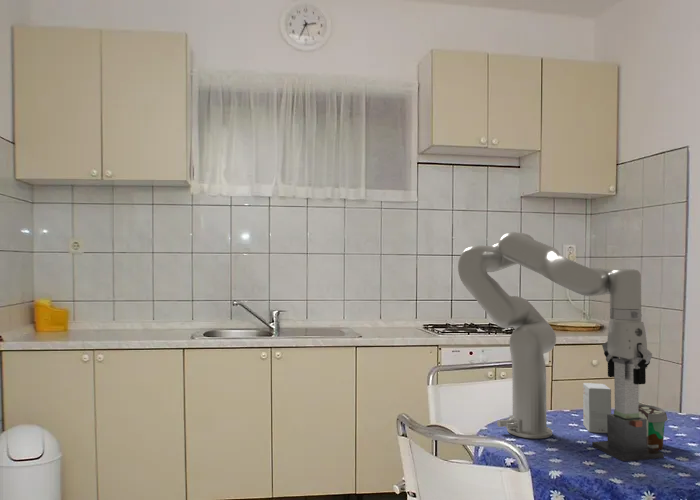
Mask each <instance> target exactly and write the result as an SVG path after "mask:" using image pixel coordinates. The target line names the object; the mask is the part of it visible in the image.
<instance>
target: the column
mask: <svg viewBox="0 0 700 500" xmlns="http://www.w3.org/2000/svg"><path fill="white" fill-rule="evenodd" d="M613 362H614V377H613V378H614V410H613V414H614V415H615V416H616V417H619V418H621V419H624V420H632V419H639V413H638V404H639V384H637V385H636V384H634V383H633V369H634V368H635V366H634V364H633V362H632V361H631V360H627V359H622V358H613ZM638 363H639V361H638Z"/></svg>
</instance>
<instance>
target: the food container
mask: <svg viewBox="0 0 700 500" xmlns="http://www.w3.org/2000/svg"><path fill="white" fill-rule="evenodd" d="M638 413H639V417H641V418H644V419H646V421H647V446H648V447H650V448H653V449H655V450H657V451H662V450H663V449H664V438H665V424H666V422H667V421H668V420H669V419H668V413H666V410H665V409H663V408H661V407H659V406H655V405H650V404H644V403H643V404H642V403H638Z"/></svg>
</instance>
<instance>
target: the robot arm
mask: <svg viewBox="0 0 700 500" xmlns="http://www.w3.org/2000/svg"><path fill="white" fill-rule="evenodd" d="M516 265H520V266H521V267H523V268H526V269H529V270H530V271H533V272H535V273H538V274H539V275H542V276H543V277H544V278H545V279H547V280H550V281H552V282H553V283H555V284H556V285H558V286H560V287H562V288H564V289H567V290H569V291H572V292H575V293H576V294H578V295H582V296H585V297H594V296H601V295H602V296H605V295H609V322H608V328H607V341H606V342H604V343H603V344H602V345H601V346H602V350H603V354H604V356H605V362H607V377H609V378H614V362H613V358H622V359H627V360H631V361H632V362H633V364H634V366H635V368H634V369H633V383H634V384H636V385H637V384H638V385H645V384H646V383H647V382H646V374H647V373H646V369H648V366H649V365H650V364H651V359H652V357H653V353H652V352H651V351H650V350H649V349H648V342H647V341H648V340H647V333H646V328H645V325H644V322H643V321H642V316H643V314H642V275H641V272H640V271H639V270H638V269H635V268H633V269H632V268H631V269H630V268H629V269H628V268H620V269H619V268H615V269H609V268H608V269H607V268H601V267H600V268H599V267H588V266H585V265H583V264H580V263H578V262H576V261H574V260H571V259H569V258H566V257H565V256H564V255H562V254H561V253H560V252H559V250H557V248H555V247H554V246H551V245H548V244H546V243H543V242H540V241H538V240H535V239H534V237H533V236H531V235H530V234H528V233H524V232H516V231H511V232H506V233H504V234H503V235H502V236H501V237H500V239H499V240H498V242H497V243H495V244H493V245H471V246H468V247H467V248H465V249H464V250H462V252H461V254H460V256H459V259H458V263H457V271H458V275H459V278H460V281H461V282H462V284H463V286H464V287H465V288H466V290H468V292H469V293H470V295H472V296H473V298H474V299H475V300H476V301H477V303H478V304H479V306H480V307H481V308H482V309H483V311H484V312H485V313H486V314H487V316H488V317H489V318H490V319H491V320H492V321H493V322H494V323H493V324H495V325H496V326H498V327H499V328H501V329H511V328H513V329H514V330H513V331H512V333H511V335H510V338H509V351H510V352H509V353H510V357H511V370H512V372H511V376H512V377H511V379H512V380H511V381H512V383H511V384H512V387H511V388H512V389H511V390H512V414H511V415H508V416H509V417H508V418H507V419H498V420H497V421H496V425H497V427H498V428H503V427H504V428H506V429H507V430H506V431H507V433H509V434H510V435H513V436H516V437H519V438H523V439H524V438H525V439H532V440H533V439H534V440H535V439H539V440H540V439H548V438H551V436H552V435H553V430H552V428H551V427H548V426H547V370H546V369H547V368H546V367H547V366H546V362H545V361H546V360H545V357H544V356H545V355H544V354H546V353H549V352H550V351H552V350H553V349H554V348H555V346H556V343H557V336H556V333H555V330H554V329H553V328H552V326H551V325H550V324H549V323H548V321H546V318H544V316H542V314H541V313H540V312H539V311H538V310H537V309H536V307H535V306H534V305H532V303H530V302H529V301H528V299H525V298H524V297H522V296H519V295H517V296H516V295H515V296H514V295H513V296H512V295H510V294H509V293H507V291H505V289H504V288H503V287H502V286H501V285H500V284H499V282H498V281H497V280H496V279H494V277H492V276H491V275H490V274H489V273H494V272H495V273H496V272H498V271H501V270H504V269H508V268H510V267H512V266H516ZM638 361H639V363H638Z"/></svg>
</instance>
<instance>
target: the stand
mask: <svg viewBox="0 0 700 500" xmlns="http://www.w3.org/2000/svg"><path fill="white" fill-rule="evenodd" d="M606 434H607V440H602V441H592V443H591V445H592V447H593V448H595V449H597V450H599V451H601V452H603V453H605V454H607V455H609V456H611V457H613V458H616V459H618V460H619V461H621V462H632V461H645V460H654V459H655V460H656V459H664V457H665V453H664V452H662V451H661V450H659V451H657V450H655V449H653V448H650V447H648V446H647V421H646V419H644V418H641V417H639V419H632V420H624V419H621V418H619V417H616V416H615V415H614V413H611V414H607V433H606Z"/></svg>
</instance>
